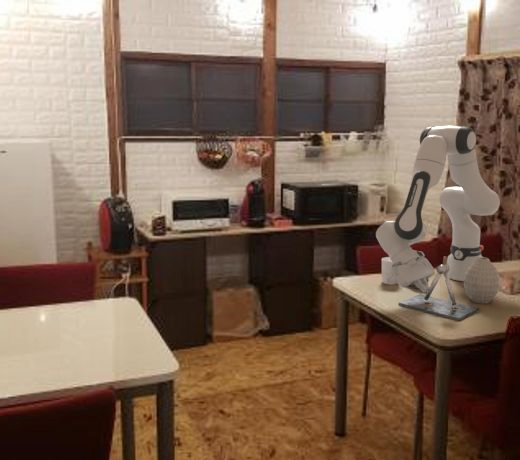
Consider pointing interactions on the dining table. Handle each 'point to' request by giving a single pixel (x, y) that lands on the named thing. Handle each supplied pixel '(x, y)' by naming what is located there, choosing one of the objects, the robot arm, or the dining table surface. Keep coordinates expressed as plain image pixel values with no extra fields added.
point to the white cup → (388, 272)
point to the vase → (481, 281)
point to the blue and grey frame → (440, 303)
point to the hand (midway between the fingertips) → (426, 291)
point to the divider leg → (435, 280)
